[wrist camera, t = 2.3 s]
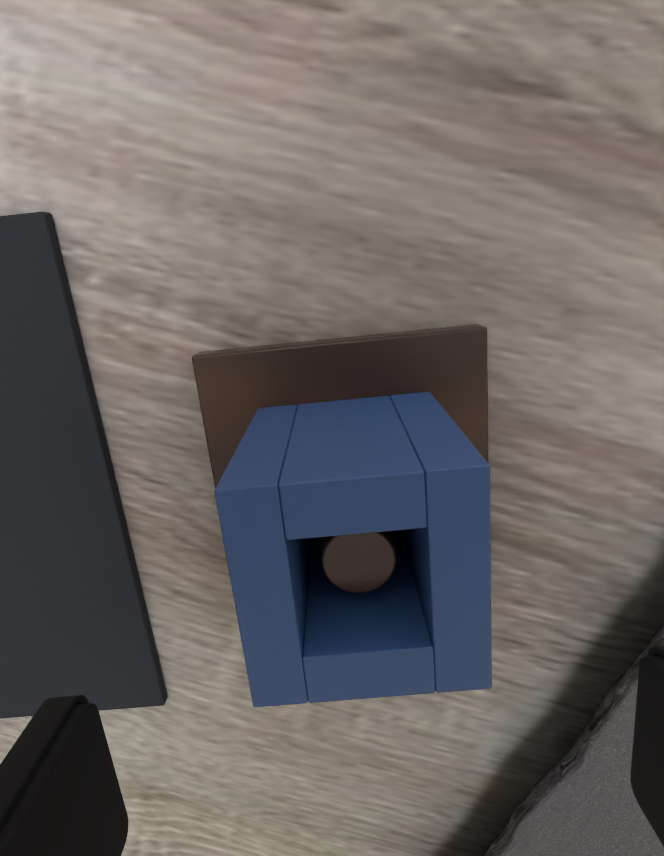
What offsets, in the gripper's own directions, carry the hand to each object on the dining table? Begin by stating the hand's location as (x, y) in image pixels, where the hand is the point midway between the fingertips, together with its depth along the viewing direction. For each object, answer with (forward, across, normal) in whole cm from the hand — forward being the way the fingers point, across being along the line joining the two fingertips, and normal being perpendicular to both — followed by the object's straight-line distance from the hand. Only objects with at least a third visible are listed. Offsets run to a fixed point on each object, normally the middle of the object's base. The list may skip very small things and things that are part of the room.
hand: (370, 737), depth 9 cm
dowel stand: (+11, 0, -1) cm, 11 cm away
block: (+10, 0, -1) cm, 10 cm away
